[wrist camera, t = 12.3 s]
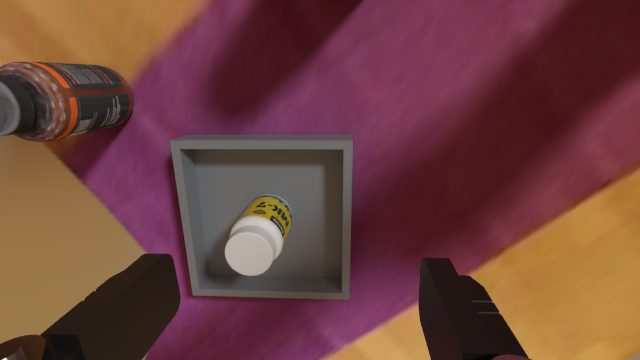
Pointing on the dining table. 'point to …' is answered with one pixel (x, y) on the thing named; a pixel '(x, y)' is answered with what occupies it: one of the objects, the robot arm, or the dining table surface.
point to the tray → (259, 179)
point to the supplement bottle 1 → (60, 100)
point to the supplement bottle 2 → (258, 235)
